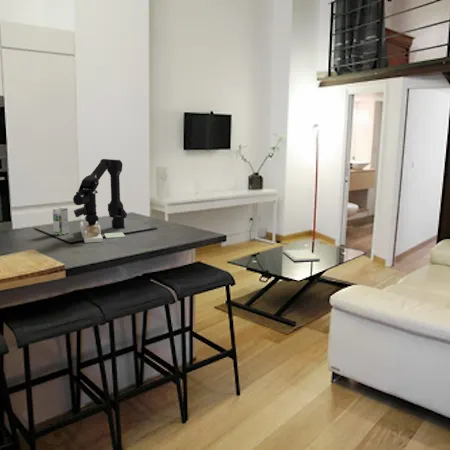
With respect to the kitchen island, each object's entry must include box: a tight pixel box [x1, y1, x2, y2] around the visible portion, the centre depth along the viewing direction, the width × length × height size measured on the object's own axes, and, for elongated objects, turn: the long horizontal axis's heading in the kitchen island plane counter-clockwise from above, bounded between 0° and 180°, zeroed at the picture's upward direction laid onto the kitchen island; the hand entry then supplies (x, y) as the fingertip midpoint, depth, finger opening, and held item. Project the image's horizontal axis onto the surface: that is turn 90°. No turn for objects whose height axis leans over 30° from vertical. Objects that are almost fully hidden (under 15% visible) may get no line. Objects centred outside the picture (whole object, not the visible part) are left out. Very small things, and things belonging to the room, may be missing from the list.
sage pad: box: [103, 231, 126, 240], centre depth 254 cm, size 10×10×1 cm
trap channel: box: [80, 221, 104, 244], centre depth 251 cm, size 9×27×6 cm, turn 21°
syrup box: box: [52, 206, 69, 236], centre depth 254 cm, size 6×6×14 cm
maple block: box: [87, 225, 98, 237], centre depth 245 cm, size 5×5×5 cm
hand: (91, 231), depth 249 cm, fingers closed
